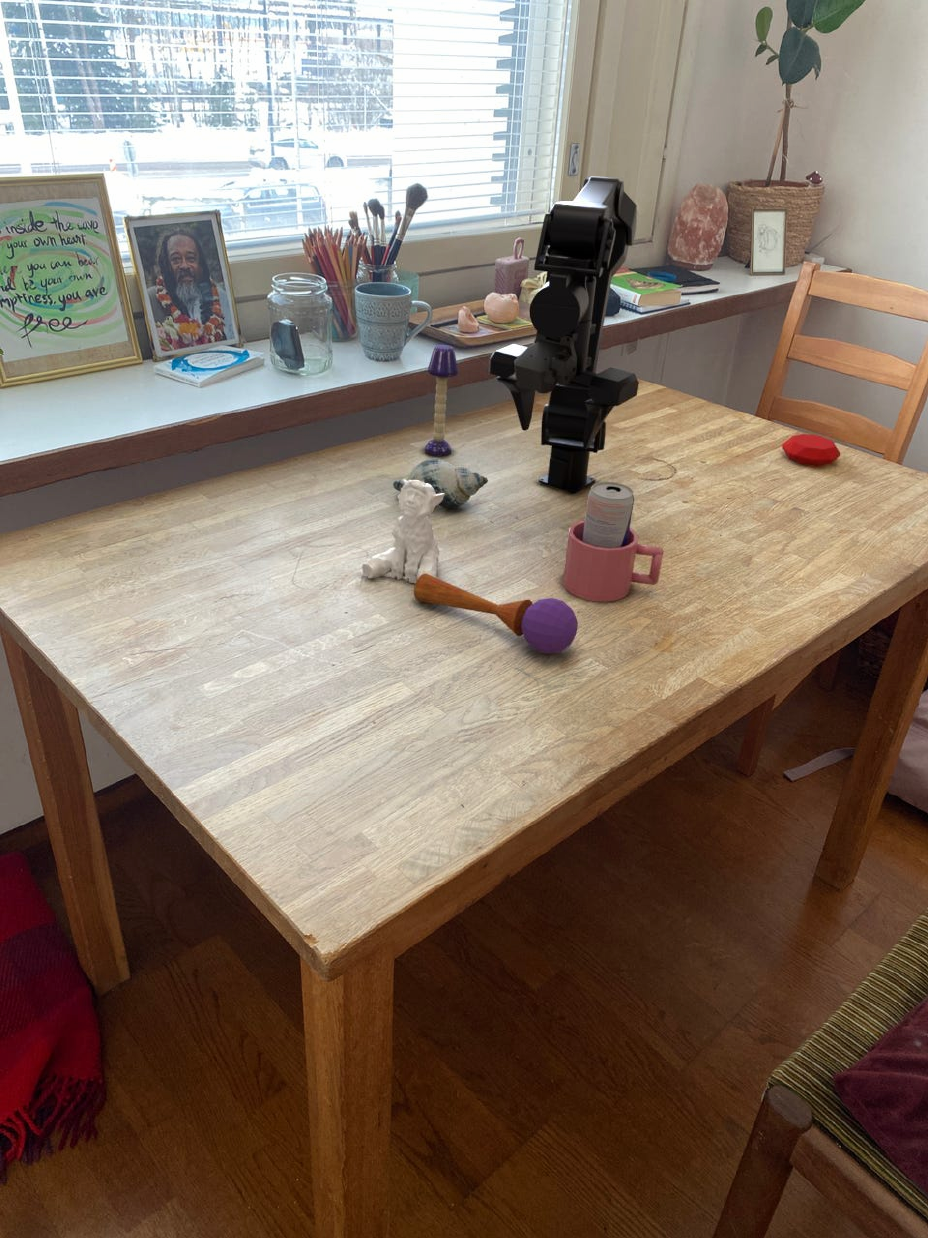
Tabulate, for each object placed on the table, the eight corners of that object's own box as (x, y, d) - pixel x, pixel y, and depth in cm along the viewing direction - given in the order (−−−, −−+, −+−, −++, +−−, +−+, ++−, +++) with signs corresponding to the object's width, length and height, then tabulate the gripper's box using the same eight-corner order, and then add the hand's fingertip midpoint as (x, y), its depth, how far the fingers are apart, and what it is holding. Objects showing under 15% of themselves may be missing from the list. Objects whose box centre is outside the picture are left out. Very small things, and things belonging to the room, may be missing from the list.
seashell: (421, 495, 139) (480, 521, 133) (387, 487, 134) (447, 514, 127) (434, 454, 138) (495, 478, 131) (401, 444, 132) (462, 469, 125)
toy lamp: (427, 444, 153) (431, 341, 144) (456, 447, 153) (461, 344, 144) (422, 454, 149) (425, 349, 140) (451, 457, 149) (456, 352, 140)
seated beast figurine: (359, 577, 114) (358, 486, 108) (392, 549, 121) (392, 461, 115) (429, 596, 111) (432, 503, 105) (459, 566, 118) (463, 477, 112)
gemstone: (791, 444, 162) (795, 427, 160) (843, 457, 158) (848, 441, 156) (773, 458, 156) (777, 441, 154) (827, 473, 151) (831, 455, 150)
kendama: (439, 558, 111) (590, 600, 101) (435, 605, 113) (582, 652, 103) (409, 567, 106) (564, 613, 96) (405, 616, 108) (557, 666, 98)
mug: (559, 596, 113) (566, 544, 109) (566, 565, 120) (572, 515, 116) (655, 609, 111) (665, 557, 108) (656, 577, 118) (665, 527, 114)
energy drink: (624, 574, 117) (638, 485, 111) (616, 594, 113) (631, 503, 106) (582, 566, 118) (594, 477, 112) (573, 585, 114) (584, 494, 108)
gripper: (467, 314, 113) (461, 437, 121) (605, 346, 104) (588, 477, 112) (516, 298, 120) (508, 415, 129) (649, 326, 112) (630, 450, 120)
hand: (555, 438), depth 122 cm, fingers open, 9 cm apart
